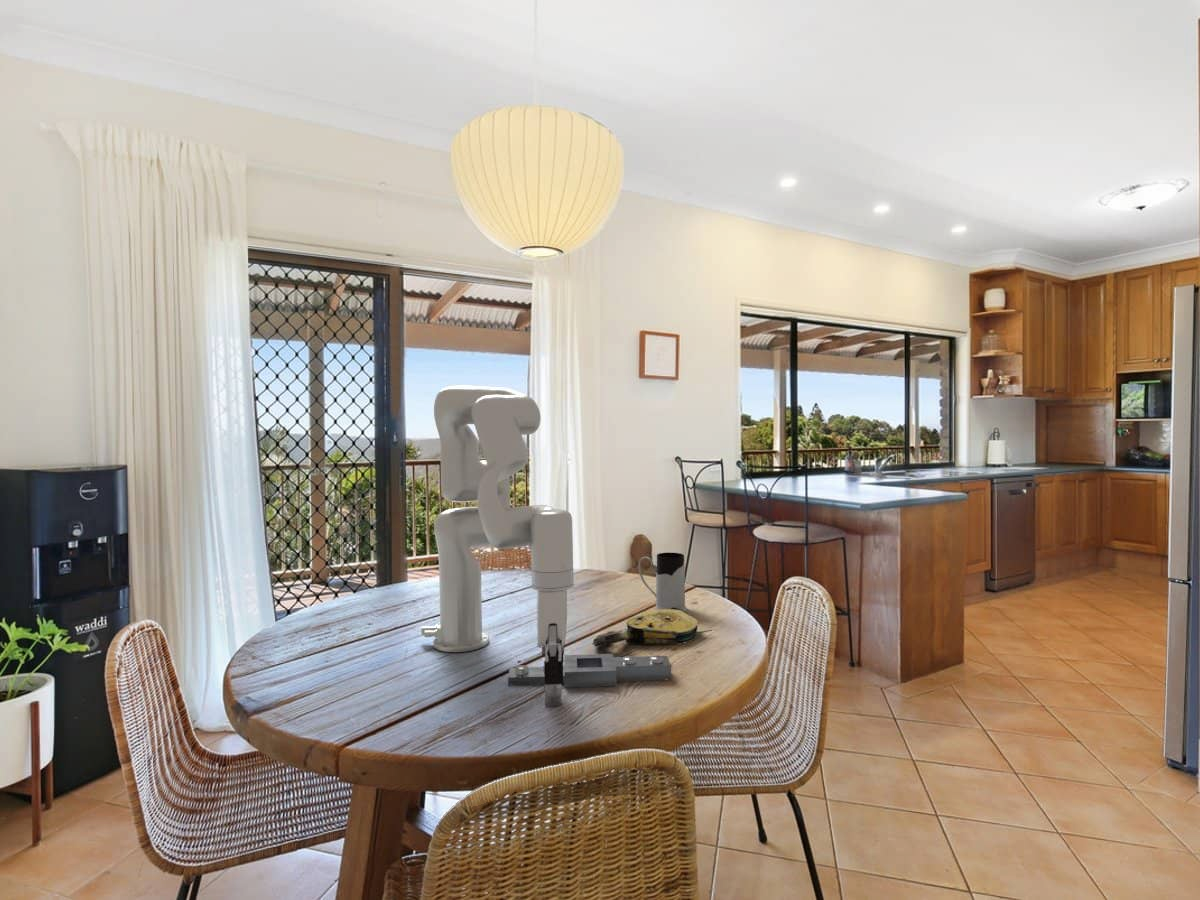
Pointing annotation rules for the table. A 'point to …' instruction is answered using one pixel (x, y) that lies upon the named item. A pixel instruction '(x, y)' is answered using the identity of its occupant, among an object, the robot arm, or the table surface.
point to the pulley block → (655, 629)
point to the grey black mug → (668, 581)
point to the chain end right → (617, 667)
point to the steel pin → (553, 689)
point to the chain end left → (537, 676)
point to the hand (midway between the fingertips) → (554, 673)
